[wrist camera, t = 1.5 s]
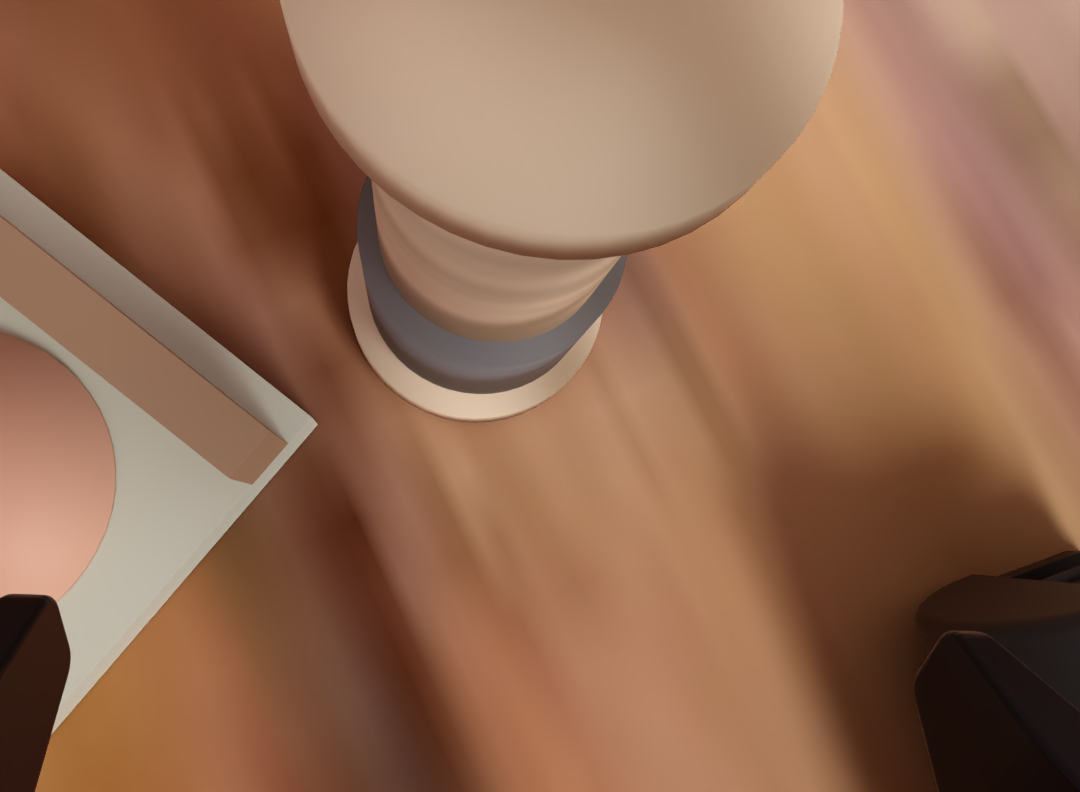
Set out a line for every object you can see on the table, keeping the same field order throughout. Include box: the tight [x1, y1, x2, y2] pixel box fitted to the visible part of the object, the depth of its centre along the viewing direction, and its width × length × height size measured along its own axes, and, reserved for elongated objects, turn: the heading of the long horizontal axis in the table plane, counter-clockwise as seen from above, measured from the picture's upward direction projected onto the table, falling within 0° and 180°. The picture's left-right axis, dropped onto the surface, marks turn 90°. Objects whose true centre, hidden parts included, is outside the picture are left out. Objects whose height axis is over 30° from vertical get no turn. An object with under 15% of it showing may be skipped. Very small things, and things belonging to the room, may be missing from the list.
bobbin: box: [280, 0, 843, 422], centre depth 16 cm, size 6×6×14 cm
